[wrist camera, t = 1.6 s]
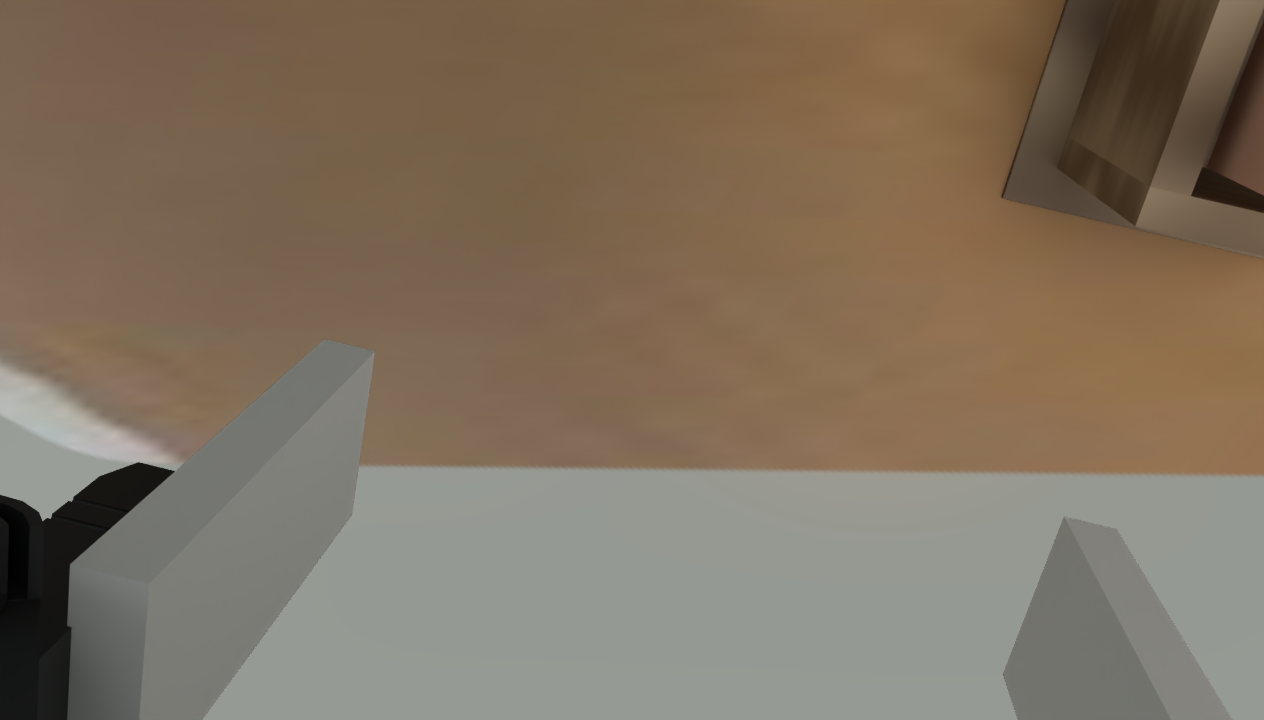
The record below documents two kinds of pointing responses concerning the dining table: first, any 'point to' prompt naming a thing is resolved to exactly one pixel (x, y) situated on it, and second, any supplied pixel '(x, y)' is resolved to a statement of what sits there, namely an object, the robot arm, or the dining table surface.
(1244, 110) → the block
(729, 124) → the dining table surface
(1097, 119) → the holder
